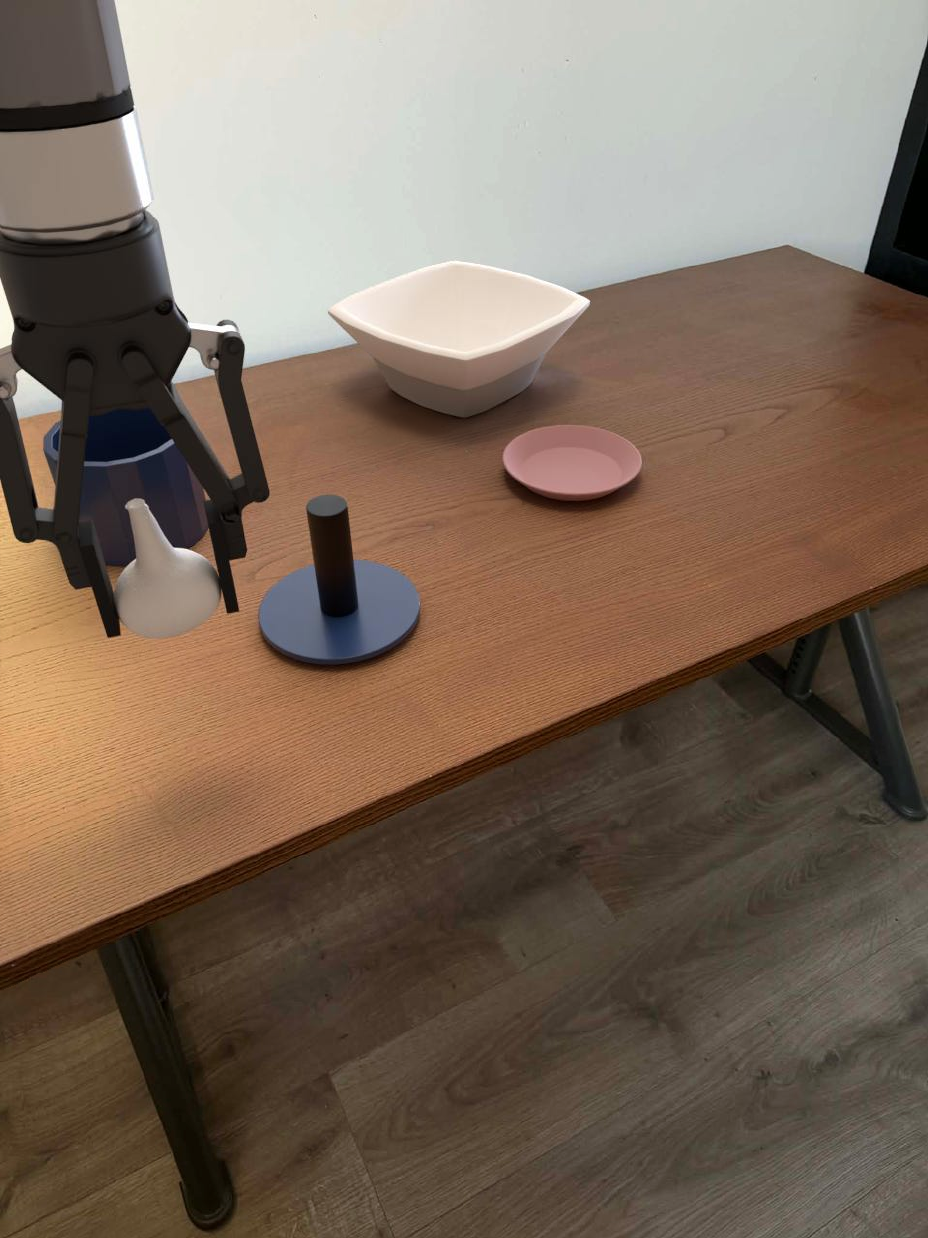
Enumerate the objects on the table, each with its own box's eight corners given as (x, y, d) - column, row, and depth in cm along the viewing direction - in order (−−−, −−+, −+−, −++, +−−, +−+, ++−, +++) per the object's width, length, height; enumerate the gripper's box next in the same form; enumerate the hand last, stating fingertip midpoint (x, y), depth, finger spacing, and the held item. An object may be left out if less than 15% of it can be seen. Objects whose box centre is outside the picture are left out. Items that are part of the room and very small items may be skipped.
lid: (275, 687, 73) (252, 571, 66) (248, 588, 83) (226, 478, 76) (441, 648, 76) (436, 534, 69) (396, 557, 86) (388, 449, 79)
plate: (612, 524, 90) (614, 506, 89) (479, 491, 95) (479, 474, 94) (657, 457, 100) (660, 440, 99) (534, 430, 105) (535, 414, 104)
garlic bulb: (214, 647, 55) (188, 534, 50) (107, 649, 55) (71, 535, 50) (233, 583, 60) (212, 474, 55) (135, 585, 60) (105, 476, 55)
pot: (77, 577, 85) (42, 477, 78) (75, 507, 94) (43, 412, 87) (217, 550, 88) (195, 451, 81) (201, 485, 97) (180, 390, 90)
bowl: (317, 392, 113) (307, 309, 107) (457, 330, 128) (455, 253, 121) (465, 456, 101) (464, 366, 94) (602, 379, 115) (608, 296, 108)
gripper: (268, 178, 48) (315, 549, 63) (-148, 215, 43) (7, 607, 58) (295, 219, 42) (340, 615, 57) (-178, 266, 38) (2, 685, 52)
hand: (172, 610), depth 57 cm, fingers closed on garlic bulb, 6 cm apart
